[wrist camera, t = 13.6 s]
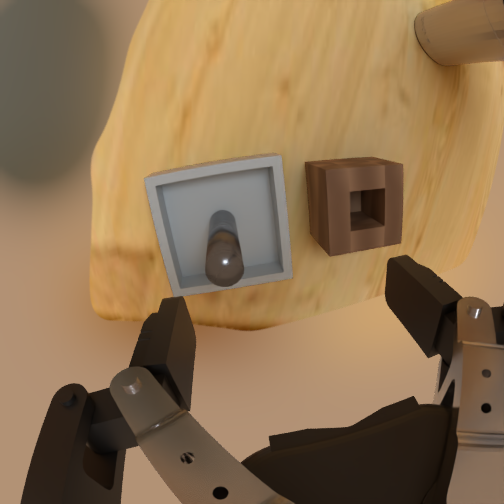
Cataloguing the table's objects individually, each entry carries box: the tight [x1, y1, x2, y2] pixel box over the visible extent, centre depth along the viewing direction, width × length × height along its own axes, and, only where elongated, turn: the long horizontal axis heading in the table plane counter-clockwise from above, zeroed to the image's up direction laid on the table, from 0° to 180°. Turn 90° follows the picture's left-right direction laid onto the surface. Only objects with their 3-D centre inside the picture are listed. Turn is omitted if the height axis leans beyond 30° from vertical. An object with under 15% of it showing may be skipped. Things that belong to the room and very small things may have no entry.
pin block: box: [305, 157, 403, 256], centre depth 31 cm, size 9×9×7 cm
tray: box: [144, 153, 293, 297], centre depth 32 cm, size 14×14×4 cm
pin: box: [205, 210, 244, 287], centre depth 28 cm, size 3×3×12 cm
